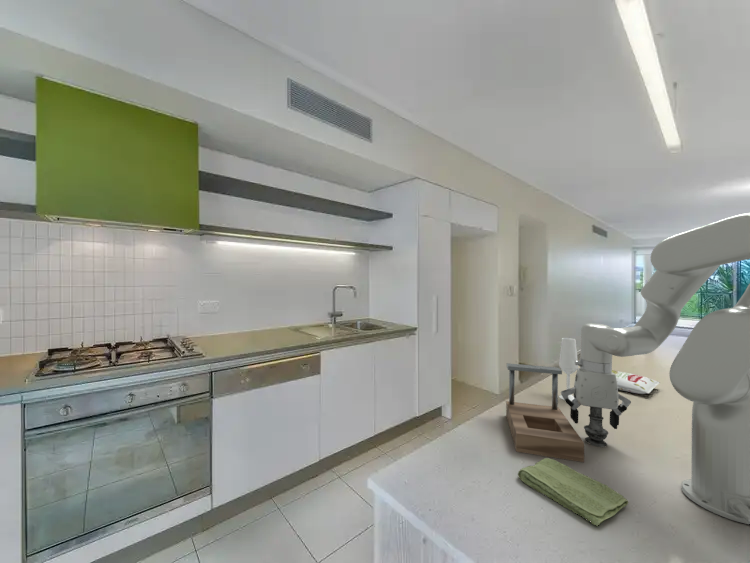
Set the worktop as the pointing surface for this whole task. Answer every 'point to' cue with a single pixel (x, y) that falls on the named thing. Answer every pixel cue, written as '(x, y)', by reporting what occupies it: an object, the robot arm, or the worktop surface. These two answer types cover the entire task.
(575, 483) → the washcloth
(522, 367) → the grey metal arch
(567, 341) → the champagne flute
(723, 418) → the robot arm
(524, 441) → the socket board
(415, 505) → the worktop surface
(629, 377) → the frozen beans
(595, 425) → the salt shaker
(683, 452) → the worktop surface
